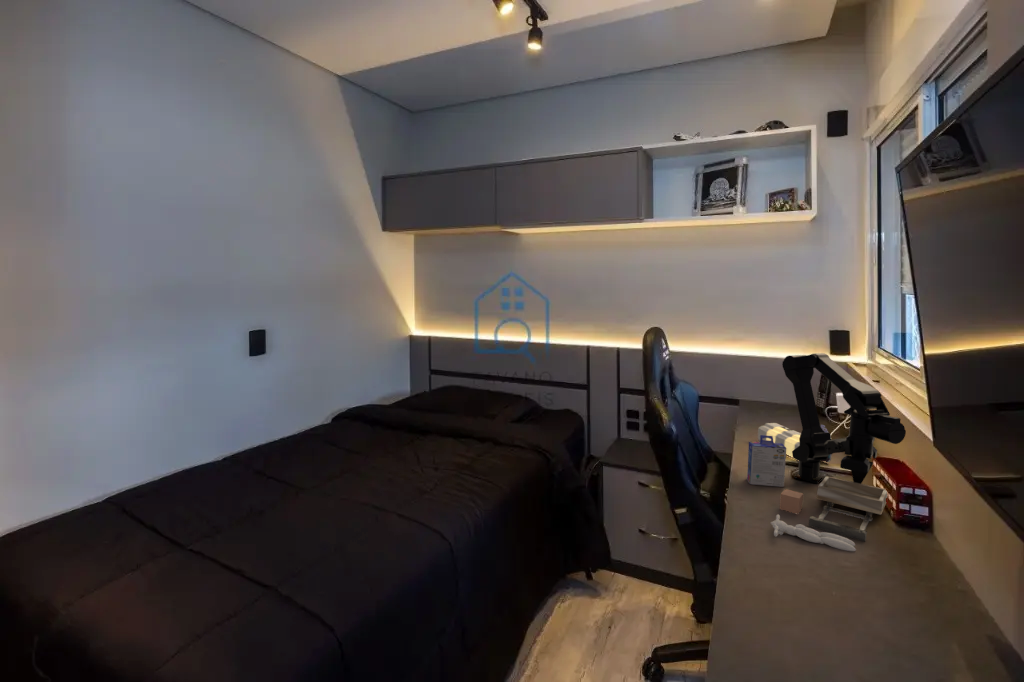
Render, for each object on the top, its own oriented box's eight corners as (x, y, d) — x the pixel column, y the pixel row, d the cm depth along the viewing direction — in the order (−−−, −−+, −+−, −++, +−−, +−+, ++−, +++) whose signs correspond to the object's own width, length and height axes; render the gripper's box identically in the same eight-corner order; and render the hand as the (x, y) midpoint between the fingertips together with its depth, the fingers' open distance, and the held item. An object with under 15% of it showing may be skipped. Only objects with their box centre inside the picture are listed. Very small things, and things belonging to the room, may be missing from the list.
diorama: (830, 465, 179) (834, 427, 177) (803, 466, 177) (806, 428, 175) (781, 442, 203) (784, 409, 201) (757, 443, 201) (759, 410, 200)
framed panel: (832, 493, 154) (832, 486, 154) (881, 505, 146) (882, 498, 146) (808, 525, 134) (809, 518, 133) (865, 541, 126) (865, 533, 126)
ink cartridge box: (779, 480, 163) (782, 435, 162) (785, 487, 158) (788, 440, 156) (745, 478, 165) (748, 433, 164) (749, 484, 160) (752, 438, 158)
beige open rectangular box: (825, 492, 153) (826, 475, 152) (886, 507, 143) (887, 489, 143) (816, 503, 145) (817, 486, 145) (880, 520, 135) (882, 501, 135)
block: (784, 504, 146) (785, 489, 146) (802, 509, 144) (803, 493, 143) (779, 509, 143) (780, 493, 143) (798, 514, 140) (799, 498, 140)
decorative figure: (854, 532, 127) (773, 508, 136) (858, 555, 117) (769, 527, 125) (851, 545, 128) (770, 520, 137) (855, 569, 118) (767, 540, 126)
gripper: (834, 421, 159) (830, 471, 161) (821, 434, 145) (817, 489, 147) (879, 428, 152) (874, 480, 154) (869, 443, 138) (864, 500, 140)
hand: (856, 486), depth 149 cm, fingers closed
